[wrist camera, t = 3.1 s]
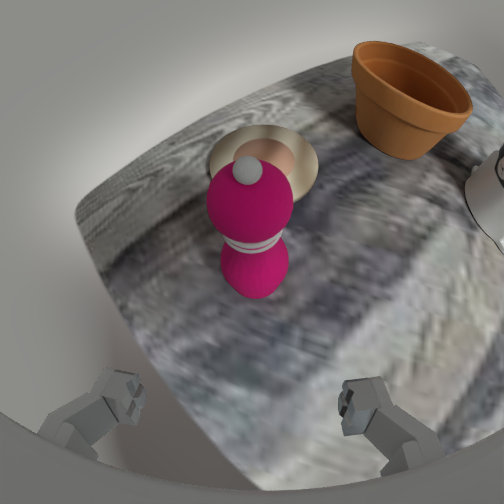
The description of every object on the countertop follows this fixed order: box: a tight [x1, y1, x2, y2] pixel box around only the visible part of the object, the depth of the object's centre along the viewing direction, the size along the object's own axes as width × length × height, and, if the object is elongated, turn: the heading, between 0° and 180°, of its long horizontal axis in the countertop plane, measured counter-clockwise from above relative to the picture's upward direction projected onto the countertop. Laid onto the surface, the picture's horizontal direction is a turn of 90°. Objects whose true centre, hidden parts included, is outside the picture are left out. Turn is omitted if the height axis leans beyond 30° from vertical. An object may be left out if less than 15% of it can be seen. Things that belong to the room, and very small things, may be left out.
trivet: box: [209, 125, 318, 203], centre depth 40 cm, size 16×16×1 cm
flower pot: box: [351, 41, 473, 160], centre depth 36 cm, size 21×21×15 cm
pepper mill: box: [206, 156, 293, 299], centre depth 24 cm, size 7×7×20 cm
